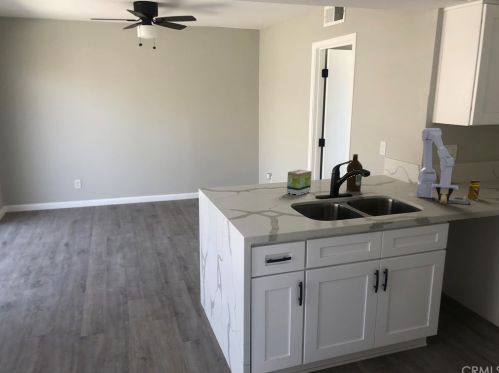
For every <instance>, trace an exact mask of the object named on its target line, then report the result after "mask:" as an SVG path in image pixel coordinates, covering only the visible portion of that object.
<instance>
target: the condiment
mask: <svg viewBox="0 0 499 373" xmlns="http://www.w3.org/2000/svg"><path fill="white" fill-rule="evenodd" d="M469 181H470V182H469V184H468V192H467V196H465V195H464V196H463V197H468V200H470V199H472V200H473V201H478V200H477V199H478V198H479V193H480V180H479V179H470V180H469ZM472 200H471V201H472Z"/></svg>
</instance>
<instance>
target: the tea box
mask: <svg viewBox="0 0 499 373" xmlns="http://www.w3.org/2000/svg"><path fill="white" fill-rule="evenodd" d="M286 181H287V182H286V194H287V193H291V194H290V195H292V194H296V195H295V196H298V195H299V196H302V195H304V193H305V194H308V193H307V192H309V191H310V192H311V190H312V189H311V188H312V186H311V185H312V171H311V170H306V169H295V170H292V171H287V180H286ZM310 192H309V193H310ZM301 194H302V195H301Z"/></svg>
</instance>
